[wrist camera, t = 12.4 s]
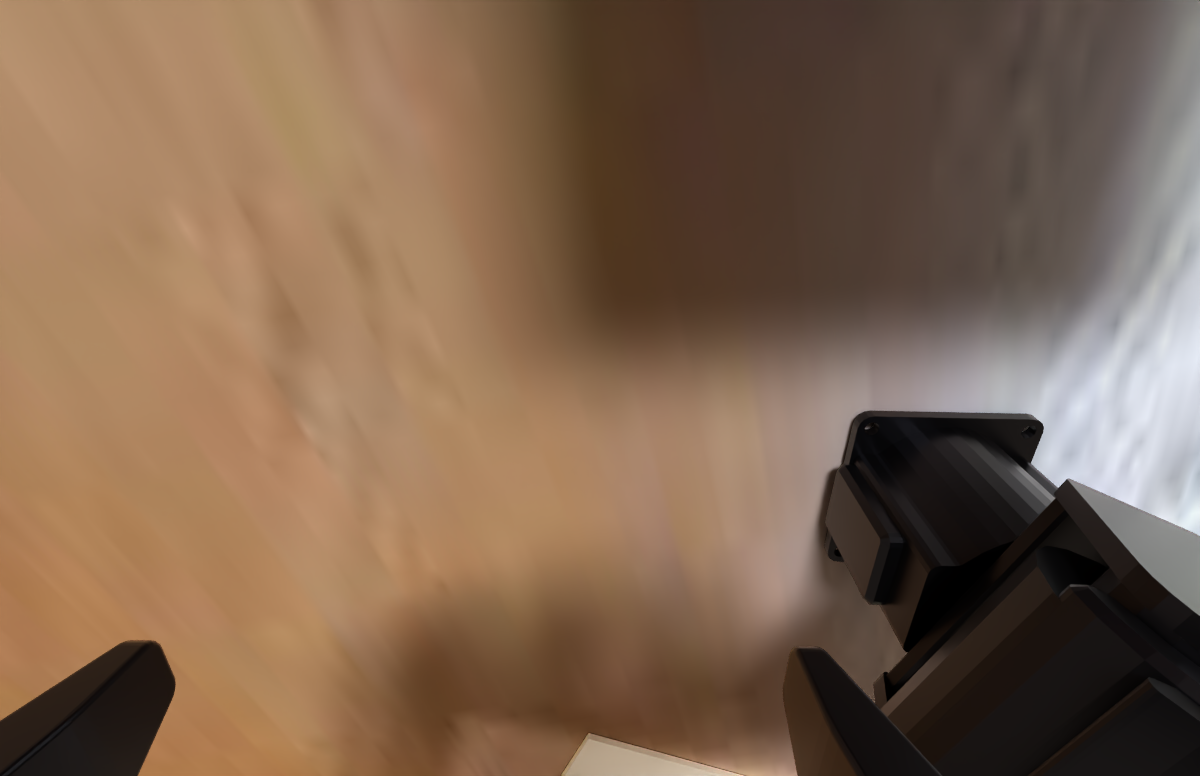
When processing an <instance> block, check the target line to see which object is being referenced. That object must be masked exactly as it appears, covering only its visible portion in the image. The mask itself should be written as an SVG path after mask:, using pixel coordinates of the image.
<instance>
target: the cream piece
mask: <svg viewBox="0 0 1200 776" xmlns="http://www.w3.org/2000/svg"><path fill="white" fill-rule="evenodd" d="M561 776H743V775H740V774H736V773H732V772H729V771H725V770H722V769H718V768H714V767H711V766H707V765H703V764H700V763H696V762H692V761H689V760H685V759H682V758H678V757H674V756H671V755H667V754H663V753H660V752H656V751H652V750H649V749H645V748H642V747H638V746H634V745H631V744H627V743H623V742H620V741H616V740H612V739H609V738H605V737H602V736H598V735H594V734H591V733H588V735H587V736H586V738H585V739H584V741H583V742H582V744H581V745H580V747H579V748H578V750H577V752H576V753H575V755H574V756H573V758H572V759H571V761H570V762H569V764H568V765H567V767H566V769H565V770H564V772H563V773H562V775H561Z"/></svg>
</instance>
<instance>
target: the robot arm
mask: <svg viewBox="0 0 1200 776" xmlns="http://www.w3.org/2000/svg"><path fill="white" fill-rule="evenodd" d="M873 422H874V423H875V424H874V425H873V427H871V428H870V429H865V427H866V425H868V424H869V423H873ZM1027 426H1029V427H1028V429H1027V430H1025V431H1024V432H1022V430H1023V429H1024V428H1025V427H1027ZM1043 429H1044V427H1043V424H1042V423H1041V422H1040V421H1039V420H1037V419H1036V418H1035V417H1033V416H1032V415H1029V414H1004V413H955V412H905V411H866V412H863V413H861V414H859V415H858V416H857V417H856V418H855V420H854V422H853V426H852V430H851V435H850V439H849V443H848V447H847V452H846V456H845V460H844V464H843V465H841V467H840V468H839V469H838V470H837V472H836V477H835V481H834V485H833V490H832V494H831V498H830V502H829V507H828V511H827V515H826V520H825V524H826V526H827V528H828V532H827V536H826V540H825V550H826V552H827V554H828V556H829V558H830V559H832V560H833V561H840V562H845V563H846V565H847V567H848V569H849V571H850V573H851V575H852V577H853V579H854V581H855V583H856V585H857V587H858V589H859V591H860V593H861V595H862V597H863V598H864V599H865V600H866V601H867V602H868V603H869V604H872V605H880V606H881V608H882V610H883V612H884V614H885V616H886V617H887V619H888V621H889V623H890V625H891V627H892V629H893V631H894V632H895V634H896V636H897V638H898V640H899V642H900V644H901V646H902V647H903V649H904V650H905V651H906V652H908V653H907V654H906V655H905V656H904V657H903V658H902V659H901V660H900V662H899V663H898V664H897V665H896V666H895V667H894V668H893V669H892V670H891V671H890V672H889V673H888V672H884V673H883V674H882V675H881V676H880V677H879V678H878V679H877V680H876V681H875V682H874V685H873V686H874V694H875V703H876V704H875V703H874V702H873V701H872V700H871V699H870V698H869V697H868V696H867V695H866V694H865V693H864V692H863V690H862V689H861V688H860V687H859V686H858V685H857V684H856V683H855V682H854V681H853V680H852V679H851V678H850V677H849V676H848V674H847V673H846V672H845V671H844V670H843V669H842V668H841V667H840V666H839V665H838V664H837V663H836V662H835V661H834V659H833V658H832V657H831V656H830V655H829V654H828V653H827V652H826V651H825V650H823V649H822V648H820V647H794V648H793V649H792V650H791V652H790V656H789V660H788V665H787V670H786V674H785V679H784V683H783V700H784V706H785V712H786V717H787V722H788V727H789V733H790V738H791V743H792V749H793V754H794V759H795V765H796V770H797V775H798V776H1200V536H1198V535H1197V534H1195V533H1193V532H1190V531H1188V530H1186V529H1184V528H1181V527H1179V526H1177V525H1174V524H1172V523H1170V522H1168V521H1165V520H1163V519H1161V518H1158V517H1156V516H1154V515H1151V514H1149V513H1147V512H1145V511H1142V510H1140V509H1138V508H1135V507H1133V506H1131V505H1129V504H1126V503H1124V502H1122V501H1119V500H1117V499H1115V498H1112V497H1110V496H1108V495H1106V494H1103V493H1101V492H1099V491H1096V490H1094V489H1092V488H1090V487H1087V486H1085V485H1083V484H1080V483H1078V482H1076V481H1074V480H1071V479H1067V480H1066V481H1065V482H1064V483H1063V484H1062V485H1061V486H1060V487H1059V488H1057V487H1056V486H1055V485H1054V484H1053V483H1052V482H1051V481H1049V480H1048V479H1047V478H1046V477H1045V476H1044V475H1043V474H1042V473H1040V472H1039V471H1038V470H1037V469H1036V468H1035V467H1034V466H1033V465H1031V461H1032V459H1033V456H1034V454H1035V451H1036V449H1037V446H1038V444H1039V441H1040V439H1041V436H1042V434H1043ZM836 548H838V549H837V550H835V549H836ZM174 692H175V677H174V675H173V672H172V670H171V668H170V665H169V663H168V661H167V658H166V656H165V654H164V651H163V649H162V647H161V645H160V644H159V643H157V642H156V641H151V640H130V641H125V642H123V643H120V644H119V645H117V646H115V647H114V648H112V649H111V650H109V651H107V652H106V653H104V654H103V655H101V656H100V657H98V658H97V659H95V660H94V661H92V662H90V663H89V664H87V665H86V666H84V667H83V668H81V669H80V670H78V671H77V672H75V673H73V674H72V675H70V676H69V677H67V678H66V679H64V680H63V681H61V682H60V683H58V684H56V685H55V686H53V687H52V688H50V689H49V690H47V691H46V692H44V693H43V694H41V695H39V696H38V697H36V698H35V699H33V700H32V701H30V702H29V703H27V704H26V705H24V706H22V707H21V708H19V709H18V710H16V711H15V712H13V713H12V714H10V715H9V716H7V717H5V718H4V719H2V720H1V721H0V776H138V774H139V772H140V769H141V767H142V765H143V763H144V761H145V758H146V756H147V754H148V752H149V749H150V747H151V745H152V743H153V741H154V738H155V736H156V734H157V732H158V729H159V727H160V725H161V723H162V721H163V718H164V716H165V714H166V712H167V709H168V707H169V705H170V703H171V701H172V698H173V695H174Z"/></svg>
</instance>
